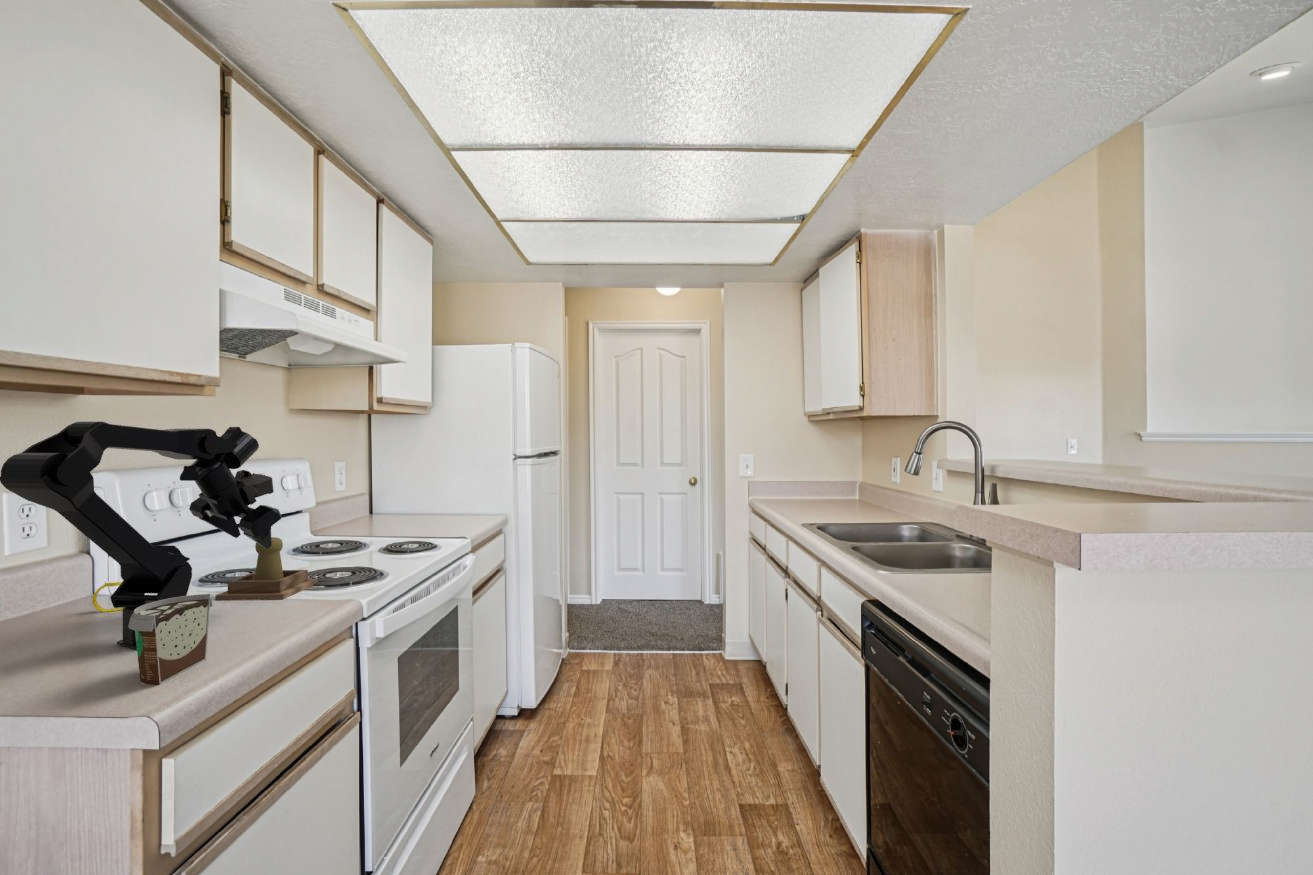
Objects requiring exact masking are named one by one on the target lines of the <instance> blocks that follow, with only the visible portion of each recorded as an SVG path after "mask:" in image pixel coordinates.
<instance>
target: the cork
mask: <svg viewBox="0 0 1313 875" xmlns="http://www.w3.org/2000/svg"><path fill="white" fill-rule="evenodd" d="M271 540H272V546H271V547H270V548H268V549H266V548H264V547H263V546H261V545H260V544H258V543H256V542H255V551H256V553H257V560H256V567H255V571H254V572H255V579H254V580H280V579H282V578H284V576H283V570H284V569H283V563H282V558H281V551H282V550H283V547H284V546H283V545H284V544H283V540H282V539H281V538H280V537H272V536H271Z"/></svg>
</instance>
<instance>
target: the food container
mask: <svg viewBox="0 0 1313 875" xmlns="http://www.w3.org/2000/svg"><path fill="white" fill-rule="evenodd" d="M213 606H214V605H213V598H212V597H211V593H203V594H201V593H200V594H191V595H186V596H181V597H174V598H169V599H164V600H159V601H155V602H151V603H148V604H145V605H142V606H140V607H138V608H136V609H135V610H134V613H133V614H132V615H131V618H130V622H129V626H128V627H129V628H130V629H132V630H135V636H136V645H137V649H136V652H137V663H138V672H139V681H140V683H142V684H144V685H148V686H149V685H150V686H161V685H162V684H164V683H166V682H168V681H169V680H171V679H173V678H176V677H177V676H179V675H180V674H183V673H185V672H186V671H188V670H190V669H192V668H194V667H195V666H197V665H199V664H201V663H203V662H205V661H207V651H208V638H209V637H208V636H209V624H210V623H209V622H210V609H211V607H213Z"/></svg>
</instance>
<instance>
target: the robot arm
mask: <svg viewBox="0 0 1313 875" xmlns="http://www.w3.org/2000/svg"><path fill="white" fill-rule="evenodd" d="M259 447H260V445H259V442H258V440H257V438H255V437H253V435H251V434H250V433H248V432H245V431H243V430H242V428H241V427H240V426H230V427H228V428H227V429H226V430H225V431H224V433H223V434H221V435H220V436H219V435H217V432H216V431H215V430H214V429H211V428H169V429H167V428H166V429H158V428H147V427H138V426H132V425H131V426H130V425H121V424H111V423H108V422H105V421H75V422H73V423H71V424H69V425H67V426H65V427H64V428H63V429H62V430H60V431H59V432H57V433H55V434H54V435H51V436H49V437H47V438H45V439H43V440H40V441H38V442H35V443H34V444H32V445H30V446H29V447H28V448H26V449H24V450H23V451H22V452H20V453H16V454H13V455H12V456H10V457H9V458H7V460H6V461H5V462H4V463H3V464H2V467H1V470H0V484H1V485H2V486H3V487H4V488H5V489H6V490H8V491H9V492H11V493H13V494H15V495H16V496H18V497H20V498H22V499H24V500H26V501H28V502H31V503H33V504H36V505H40V506H42V507H46V508H48V509H51V510H54V511H55V512H57V513H58V514H59V515H60V516H62V518H64V519H65V520H66V521H68V522H69V523H70V524H71V525H72V526H73V527H75V528H76V529H77V530H78V531H79V532H80V533H82V534H83V535H84V536H85V537H86V538H88V539H89V540H90V541H91V542H92V543H94V544H95V545H96V546H98V548H100V549H101V550H102V551H103V552H104V553H106V554H107V555H108V556H109V557H111V558H112V560H114V561H115V562H116V563H117V564H118V565H119V566H120V578H121V580H123V582H122V583H121V584H120V585H118V587H117V588H116V589H115V591H114V592H113V593H112V595H111V596H110V597H109V599H110V601H111V604H112V607H113V609H114V608H122V607H123V610H122V631H121V632H122V636H121V638H122V639H120V640H117V641H116V645H118V646H122V647H126V648H129V649H134V650H137V645H136V636H135V630H132V629H130V628H129V627H128V626H129V622H130V618H131V615H132V614H133V613H134V610H135V609H136V608H138V607H140V606H142V605H145V604H148V603H151V602H155V601H159V600H164V599H169V598H174V597H181V596H188V595H187V594H188V592H189V588H190V584H191V581H192V578H193V577H192V576H193V572H192V571H193V567H192V565H191V564H190V562H188V561H190V559H191V558H190V557H187V556H186V555H183V553H182V551H181V550H180V549H179V548H178V547H177V546H176V545H166V544H165V545H163V544H162V545H157V544H156V545H154V544H152V543H150V542H149V541H148V540H147V539H146V538H145V537H144V535H142V534H141V533H140V532H139V531H137V529H135V528H134V527H133V526H132V525H131V524H130V523H129V522H127V521H126V520H125V518H123V517H122V516H121V515H120V514H119V513H118V512H117V511H116V510H115V509H113V507H111V506H110V505H109V503H107V502H106V501H105V500H104V499H103V498H102V497H101V496H100V495H99V494H97V493H96V491H95V483H94V479H95V478H94V476H93V474H92V473H91V472H92V471H93V470H94V469H95V468H97V467H98V466H99V465H100V463H101V461H102V458H103V455H104V452H105V451H106V450H107V449H115V450H129V451H144V452H153V453H156V454H158V455H160V456H162V457H166V458H170V459H173V460H180V461H181V460H183V461H184V460H188V461H189V460H192V461H193V460H195V461H193V462H192V463H191V464H190V465H184V466H183V470H182V472H181V473H180V475H179V480H180V481H181V482H183V481H185V482H187V481H188V482H190V481H191V482H195V484H196V485H197V487H198V489H199V490H200V491H201V492H200V493H199V494H198V496H199V497H197V498H196V499H195V500H193V501H192V502H191V503H190V505H189V508H188V509H189V511H190V512H191V514H192V515H193V517H196V518H199V520H201V521H203V522H205V523H207V524H209V525H211V526H213V527H214V528H216V529H218V530H219V531H222V532H224V533H225V534H227V535H230V536H231V537H233V538H235V539H237V538H239V537H240V536H241V531H242V532H243V533H242V534H243V535H244V536H246V537H247V538H248V539H250V540H252V541H254V542H255V544H256V543H258V544H260V545H261V546H263V547H264V548H266V549H268V548H270V547H271V546H272V540H271V537H272V527H273V526H274V525H275V524H276V523H278V522H279V521H280V520H281V519H282V518H283V516H282V514H281V512H280V510H279V509H278V508H275V507H272V506H269V505H265V504H260V505H257V507H255V508H252V507H250V506H252V505H254V504H255V503H256V502H257V499H256V498H259V497H262V496H266V495H271V494H273V493H274V482H273V477H272V476H269V475H265V474H262V473H251V471H249V470H246V469H241V470H237V469H240V468H241V467H242V466H243V465H244V464H245V463H246V462H247V461H249V459H250V458H251V457H253V455H254V454H256V452H257V451H258V450H259ZM232 470H237V471H236V474H235V475H234V474H233V472H232ZM236 517H238V518H241V519H239V523H238V524H237V522H236Z"/></svg>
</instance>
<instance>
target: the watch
mask: <svg viewBox="0 0 1313 875" xmlns="http://www.w3.org/2000/svg"><path fill="white" fill-rule="evenodd" d="M123 581H124V580H123V579H114V580H107V581H105V582H104V584H103V585H101V586H100V587H99V588H97V589H96V591H95V592H94V593H93V595H92V601H91V602H92V605H93V606H94V608H95V609H96V610H97V611H99V612H101V613H103V612H104V613H109V612H118V610H120V611H123V607H119V608H114V607H113V608H108V609H106V608H104V607H103V606H102V607H101V606H100V605H99V603H98V601H97V598H98V594H99V592H100V591H101V590H102V589H104V588H106V587H117V586H118V587H119V586H120V584H121V583H122V582H123Z"/></svg>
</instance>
